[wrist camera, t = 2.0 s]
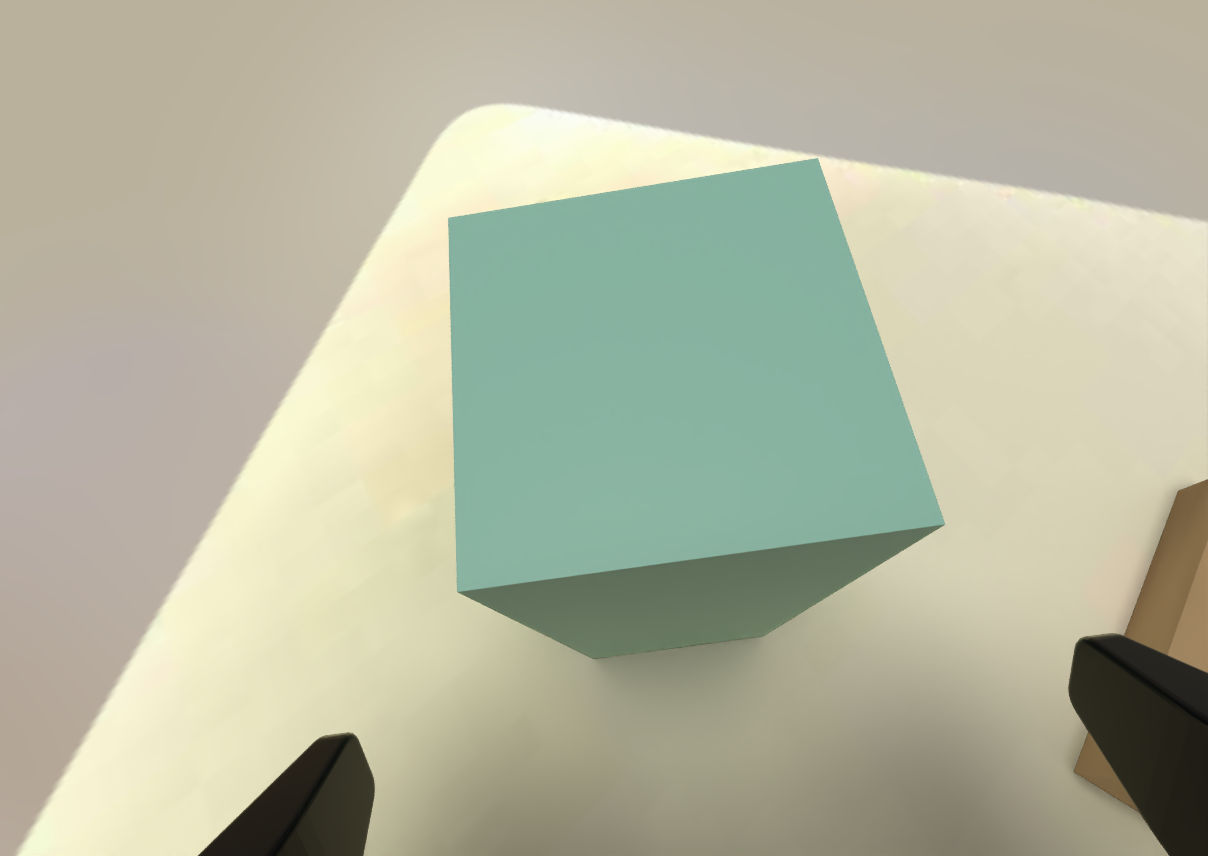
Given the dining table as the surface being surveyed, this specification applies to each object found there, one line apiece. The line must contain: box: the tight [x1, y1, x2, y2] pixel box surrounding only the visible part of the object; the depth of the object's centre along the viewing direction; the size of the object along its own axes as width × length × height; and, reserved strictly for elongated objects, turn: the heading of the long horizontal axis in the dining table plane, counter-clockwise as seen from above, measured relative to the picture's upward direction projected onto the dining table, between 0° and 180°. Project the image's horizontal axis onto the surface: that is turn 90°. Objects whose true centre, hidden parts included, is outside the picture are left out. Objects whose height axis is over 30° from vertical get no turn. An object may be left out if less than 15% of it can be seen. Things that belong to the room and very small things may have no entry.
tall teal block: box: [448, 158, 945, 659], centre depth 13 cm, size 5×5×13 cm
